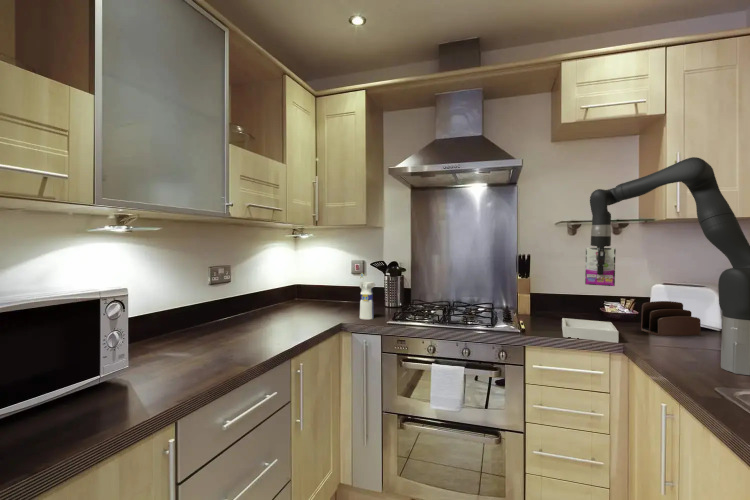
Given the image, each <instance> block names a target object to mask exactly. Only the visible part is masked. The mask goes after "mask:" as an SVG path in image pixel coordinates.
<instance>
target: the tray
mask: <svg viewBox="0 0 750 500" xmlns="http://www.w3.org/2000/svg"><path fill="white" fill-rule="evenodd" d="M561 329H562V337H563V338H568V337H571V338H570V339H577V338H579V340H588V341H597V342H606V343H607V342H608V343H616V344H618V343H619V330H617V328H616V326H615V325H614V324H613V323H612V322H611V321H601V320H600V321H599V320H589V319H577V318H565V317H562V319H561Z"/></svg>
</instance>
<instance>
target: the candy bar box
mask: <svg viewBox="0 0 750 500" xmlns="http://www.w3.org/2000/svg"><path fill="white" fill-rule="evenodd" d="M604 251H605V252H606V253H605V264H604V266H603V275H598V274H597V260H596V255H597V257H598V248H597V247H586V248H585V260H584V261H585V265H584V266H585V267H584V271H585V272H584V274H585V275H584V284H585V285H589V286H604V287H615V286H616V285H615V284H616V283H615V282H616V247H604ZM599 262H603V261H599Z"/></svg>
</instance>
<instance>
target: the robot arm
mask: <svg viewBox="0 0 750 500" xmlns="http://www.w3.org/2000/svg"><path fill="white" fill-rule="evenodd" d="M674 183H675V184H676V183H682V184H684V185H685V186H686V187H687V189H688V190H689V192H690V194H691V195H692V197H693V199H694V202H695V207H696V217H697V221H698V224H699V226H700V229H701V231H702V233H703V234H704V236H705V238H706V239H707V241H709V243H711V244H712V245H713V246H714V247H715V248H716V249H718V250H719V251H720V252H721V253H722V254H723V255H724V256H725V257H726V258H727V260H728V261H729V263H730V264H731V266H732V267H731V268H730V267H729V268H727V269H724V270H723V271H722V272H721V273H720V275H719V278H718V284H717V285H718V286H717V287H718V305H719V307H720V309H721V342H720V343H721V345H720V346H721V347H720V368H721V369H723V370H725V371H727V372H731V373H733V374H736V375H746V376H750V243H749V240H748V239H747V238H746V236H745V234H744V232H743V230H742V228H741V225H740V223H739V221H738V219H737V217H736V215H735V212H734V211H733V209H732V208H731V206H730V205H729V202H728V201H727V199H726V198H725V196H724V195H723V194H722V192H721V190H720V187H719V185H718V182H717V177H716V175H715V172H714V168H713V167H712V166H711V164H709V162H707V161H705V160H704V159H702V158H701V157H695V156H694V157H693V156H692V157H688V158H685V159H682V160H681V161H677V162H676V163H673V164H671V165H669V166H667V167H664V168H662V169H660V170H657V171H655V172H653V173H650V174H648V175H644V176H642V177H638V178H636V179H632V180H629V181H626V182H622V183H620V184H617V185H616V186H615V187H612V188H609V189H602V188H597V189H595V190H594V191H592V193H591V194H590V197H589V205H590V210H591V211H590V212H591V217H592V219H591V229H590V246H591V247H596V248H598V257H597V255H596V260H597V274H598V275H603V266H604V264H605V253H606V252H605V251H604V248H606V247H611V245H612V213H611V212H610V211H609V210H608V207H609V206H611V205H612V206H613V205H615V204H618V203H620V202H622V201H627V200H629V199H633V198H638V197H641V196H643V195H646V194H648V193H650V192H652V191H654V190H656V189H657V188H660V187H663V186H667V185H669V184H674ZM599 261H603V262H599Z"/></svg>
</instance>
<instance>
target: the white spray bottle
mask: <svg viewBox="0 0 750 500" xmlns="http://www.w3.org/2000/svg"><path fill="white" fill-rule="evenodd" d="M359 276H360V279H361V278H362V279H364V276H365V274H364V273H363V272H361V273H359ZM359 283H360V284H359V288H360V300H359V319H361V320H373V319H374V318H375V317H374V314H375V313H374V300H373V295H374V293H373V288H375V287H376V283H375V282H374V281H360V282H359Z"/></svg>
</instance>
